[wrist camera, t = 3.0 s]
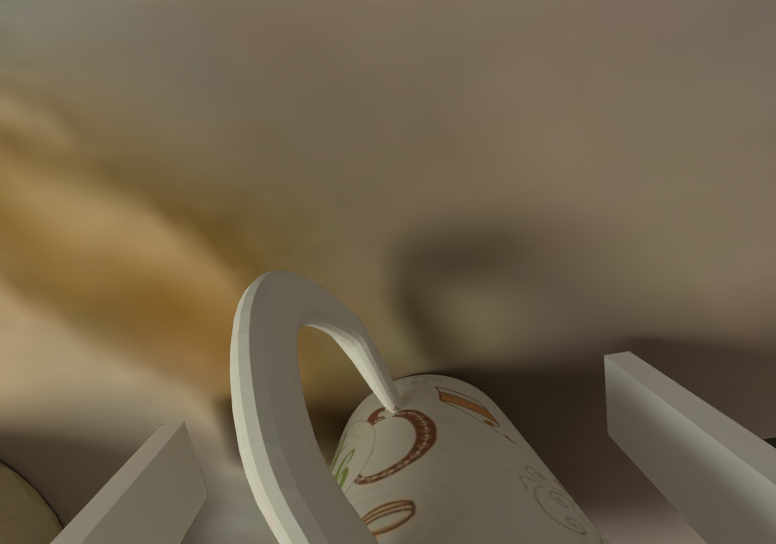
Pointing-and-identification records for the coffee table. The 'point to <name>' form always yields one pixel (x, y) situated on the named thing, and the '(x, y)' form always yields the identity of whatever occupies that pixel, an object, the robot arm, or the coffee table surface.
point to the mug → (381, 443)
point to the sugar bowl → (24, 512)
